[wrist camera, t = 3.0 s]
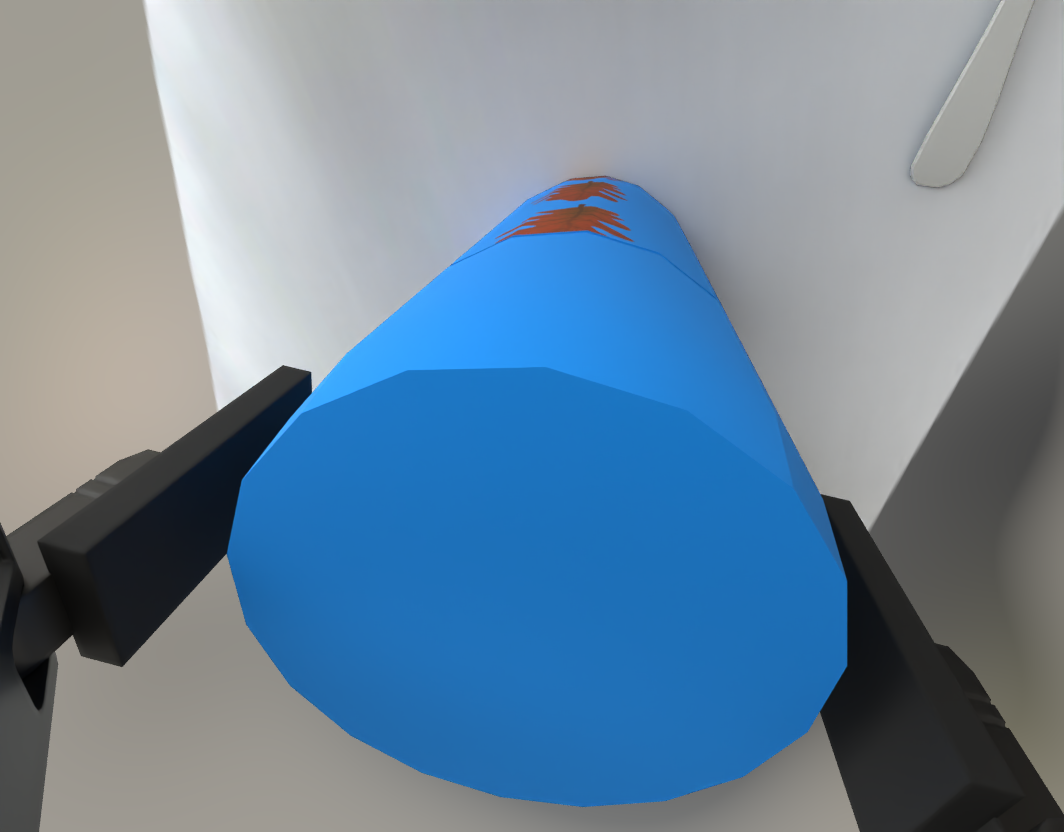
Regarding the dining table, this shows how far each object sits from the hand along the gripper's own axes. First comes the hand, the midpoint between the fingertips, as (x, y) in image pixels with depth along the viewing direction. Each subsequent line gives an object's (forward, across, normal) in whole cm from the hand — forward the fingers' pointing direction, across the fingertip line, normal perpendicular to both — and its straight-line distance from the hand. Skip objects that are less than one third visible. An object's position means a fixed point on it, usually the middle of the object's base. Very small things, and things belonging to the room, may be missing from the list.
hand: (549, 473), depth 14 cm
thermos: (+20, 0, 0) cm, 20 cm away
